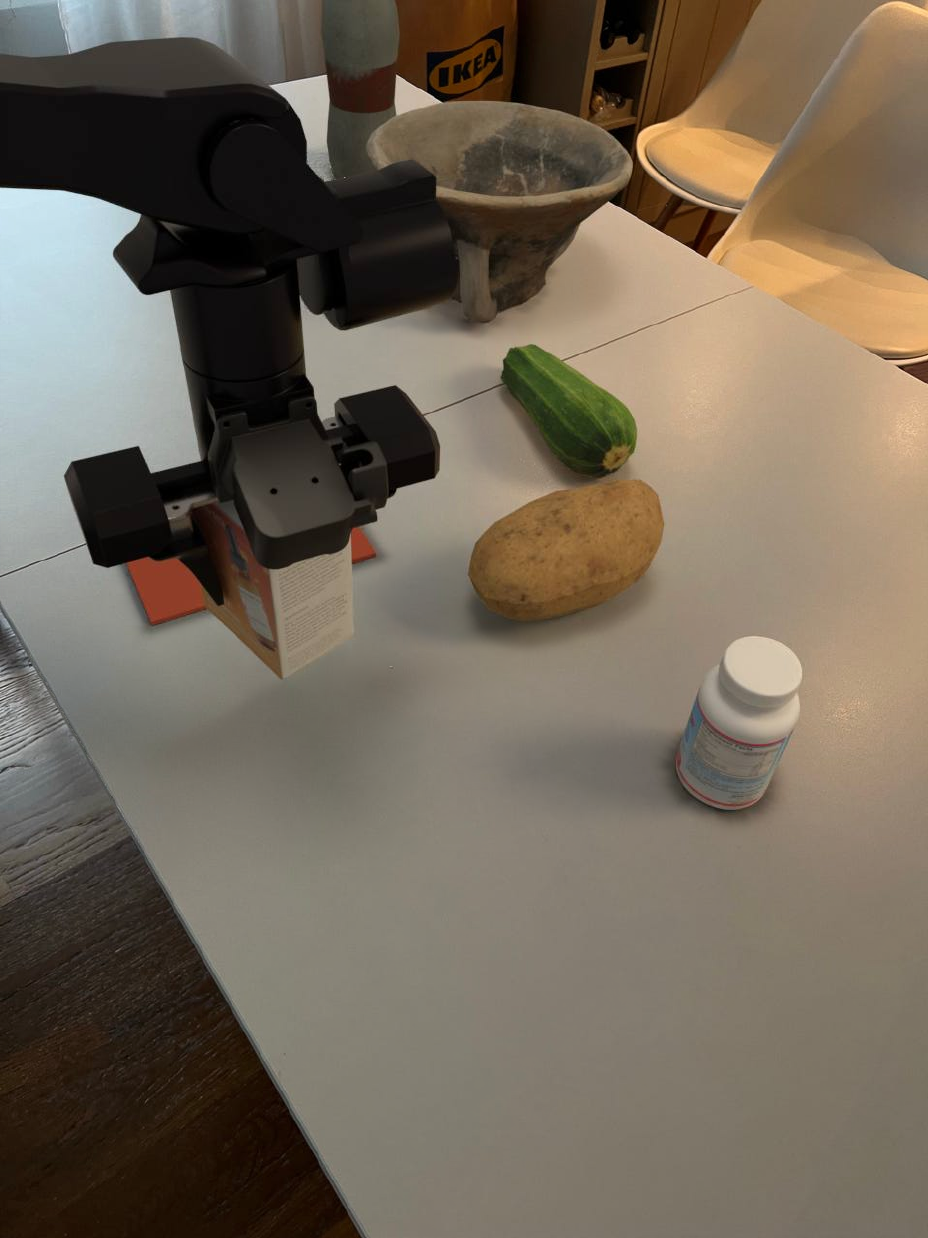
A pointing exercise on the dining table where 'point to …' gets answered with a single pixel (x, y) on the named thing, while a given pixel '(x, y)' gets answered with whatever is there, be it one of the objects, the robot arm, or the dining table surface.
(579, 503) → the potato
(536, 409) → the vegetable
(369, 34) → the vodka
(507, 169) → the bowl
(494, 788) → the dining table surface
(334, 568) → the small box
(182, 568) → the tea towel
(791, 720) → the pill bottle
